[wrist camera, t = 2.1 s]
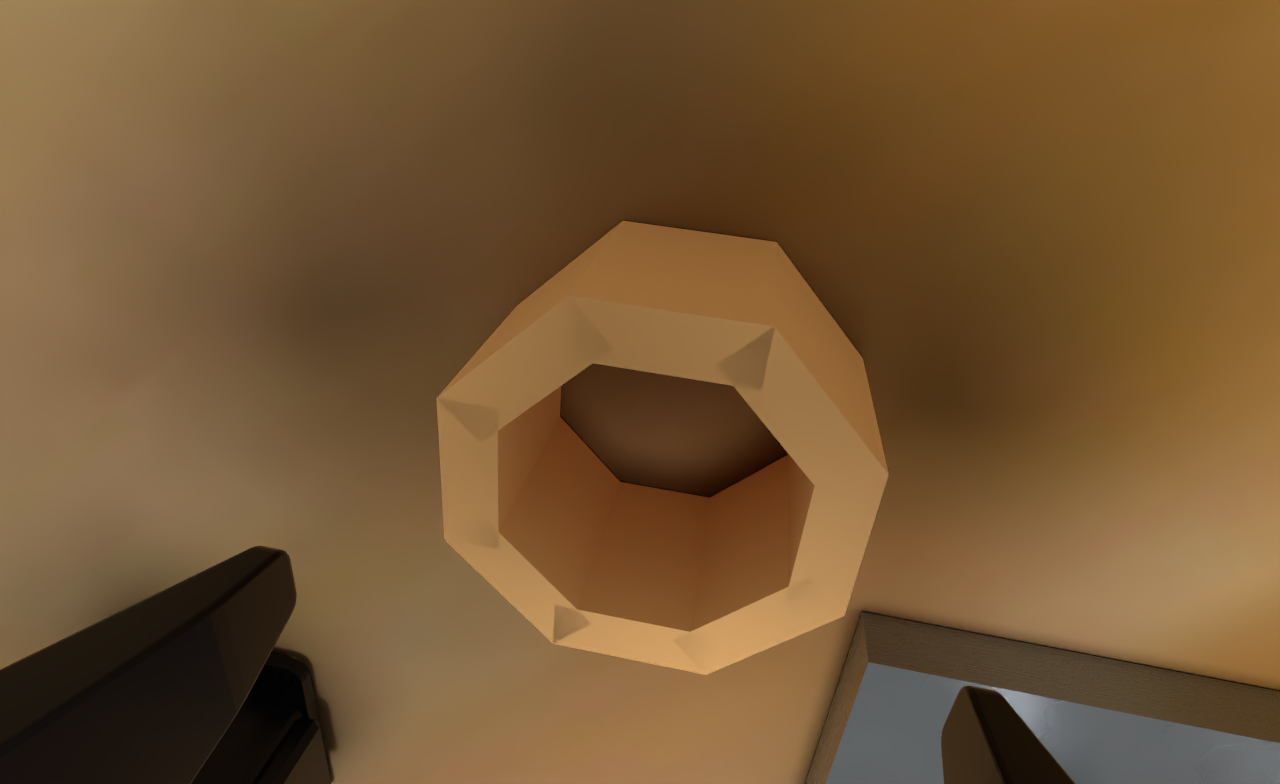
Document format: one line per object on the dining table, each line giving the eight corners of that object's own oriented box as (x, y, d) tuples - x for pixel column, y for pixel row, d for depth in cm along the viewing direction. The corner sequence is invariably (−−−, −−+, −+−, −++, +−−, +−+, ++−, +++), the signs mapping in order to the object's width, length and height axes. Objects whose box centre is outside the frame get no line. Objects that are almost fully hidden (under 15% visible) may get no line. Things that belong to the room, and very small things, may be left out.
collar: (515, 497, 17) (448, 622, 14) (517, 206, 14) (429, 274, 10) (811, 551, 17) (818, 697, 13) (889, 257, 13) (928, 350, 10)
